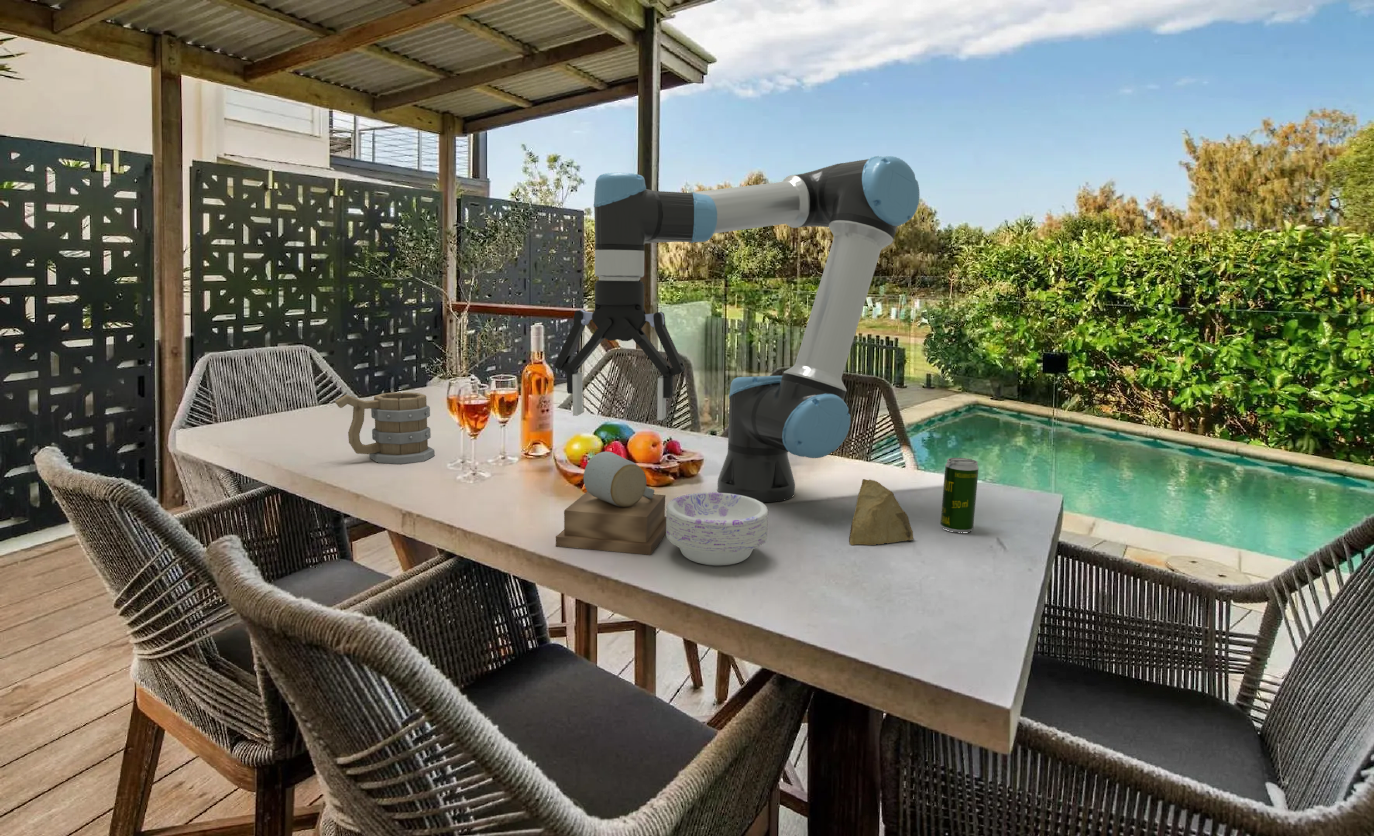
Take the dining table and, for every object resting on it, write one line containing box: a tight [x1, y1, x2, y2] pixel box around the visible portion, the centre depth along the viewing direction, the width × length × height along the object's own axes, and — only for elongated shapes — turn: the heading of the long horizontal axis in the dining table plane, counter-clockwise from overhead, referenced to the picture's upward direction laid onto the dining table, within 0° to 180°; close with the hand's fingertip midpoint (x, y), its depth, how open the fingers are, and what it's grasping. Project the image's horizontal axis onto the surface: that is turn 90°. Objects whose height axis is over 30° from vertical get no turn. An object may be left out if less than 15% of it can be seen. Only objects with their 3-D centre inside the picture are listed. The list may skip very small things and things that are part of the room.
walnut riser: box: [555, 490, 666, 556], centre depth 129 cm, size 15×15×6 cm
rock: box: [848, 478, 915, 546], centre depth 130 cm, size 11×9×10 cm
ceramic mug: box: [583, 451, 655, 507], centre depth 129 cm, size 11×8×8 cm
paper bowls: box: [665, 492, 769, 567], centre depth 121 cm, size 15×15×8 cm
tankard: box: [335, 391, 436, 465], centre depth 176 cm, size 20×13×15 cm, turn 128°
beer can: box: [940, 457, 980, 534], centre depth 137 cm, size 5×5×12 cm
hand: (619, 416), depth 127 cm, fingers open, 13 cm apart
